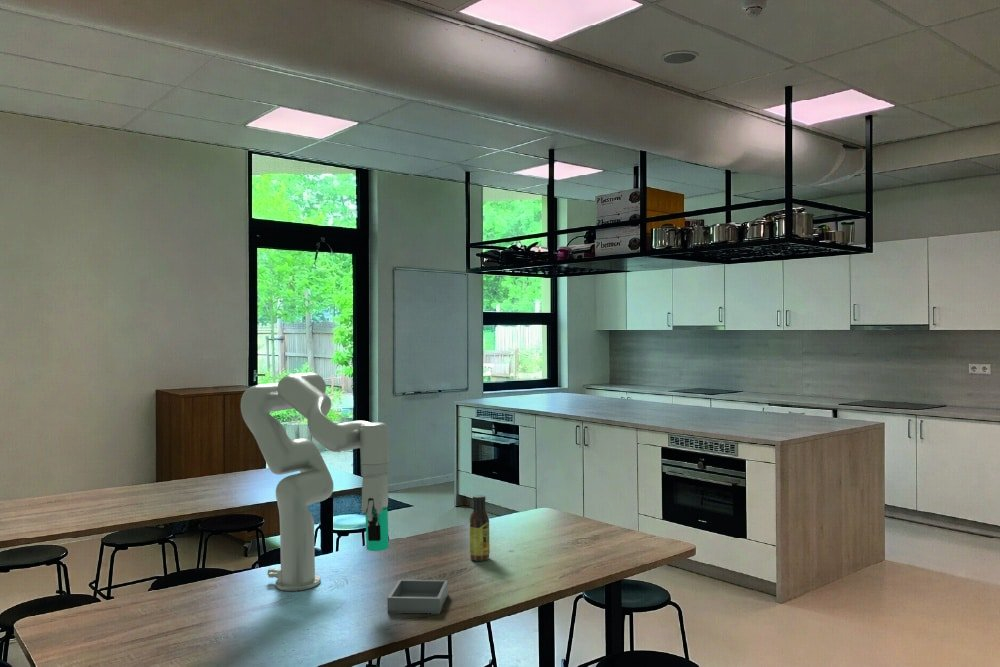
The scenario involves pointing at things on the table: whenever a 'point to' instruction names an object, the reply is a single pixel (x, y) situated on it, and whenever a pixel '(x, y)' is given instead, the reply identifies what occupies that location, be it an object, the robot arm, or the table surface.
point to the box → (418, 596)
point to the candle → (384, 539)
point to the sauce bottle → (479, 530)
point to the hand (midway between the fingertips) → (377, 536)
